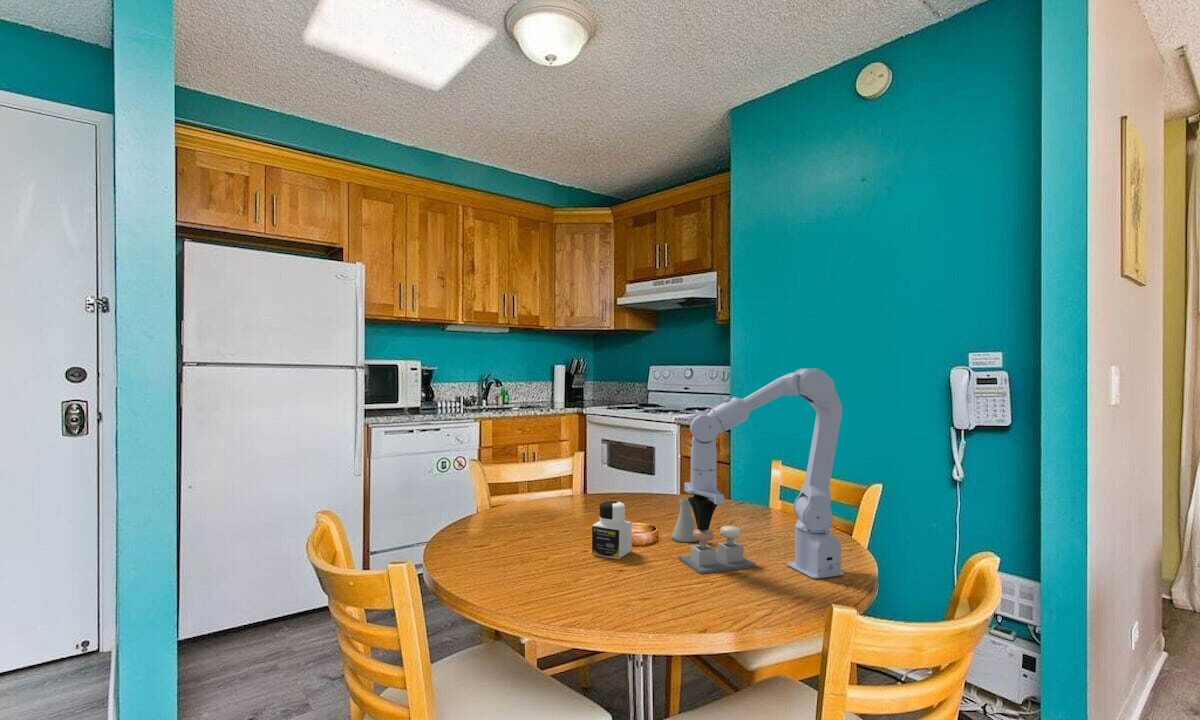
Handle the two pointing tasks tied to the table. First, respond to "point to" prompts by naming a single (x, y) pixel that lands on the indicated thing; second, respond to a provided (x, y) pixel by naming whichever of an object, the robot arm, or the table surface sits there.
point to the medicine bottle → (611, 531)
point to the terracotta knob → (703, 537)
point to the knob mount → (716, 558)
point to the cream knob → (730, 534)
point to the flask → (684, 523)
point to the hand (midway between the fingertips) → (703, 529)
